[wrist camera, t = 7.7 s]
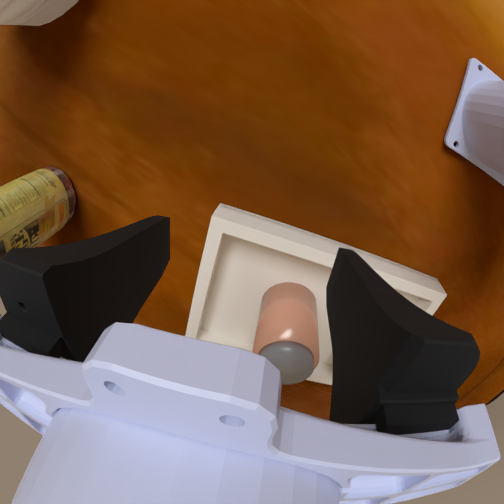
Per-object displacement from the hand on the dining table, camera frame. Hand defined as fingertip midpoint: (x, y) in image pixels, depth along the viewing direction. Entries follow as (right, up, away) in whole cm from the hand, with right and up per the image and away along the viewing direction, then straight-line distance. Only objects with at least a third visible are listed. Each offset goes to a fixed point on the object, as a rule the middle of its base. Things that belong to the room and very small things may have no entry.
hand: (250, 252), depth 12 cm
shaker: (+3, -4, +13) cm, 14 cm away
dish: (+5, -5, +14) cm, 15 cm away
